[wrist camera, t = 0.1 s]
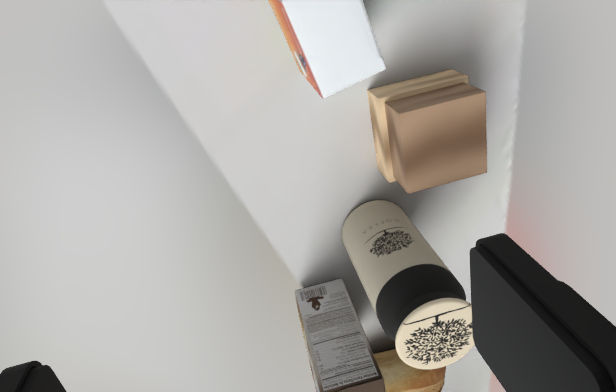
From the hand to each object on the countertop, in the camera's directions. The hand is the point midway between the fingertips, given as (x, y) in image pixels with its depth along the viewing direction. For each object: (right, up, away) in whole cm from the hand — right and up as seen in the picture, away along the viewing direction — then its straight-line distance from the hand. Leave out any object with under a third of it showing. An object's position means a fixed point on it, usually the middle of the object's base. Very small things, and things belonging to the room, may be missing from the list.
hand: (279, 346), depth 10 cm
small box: (+1, +20, +32) cm, 38 cm away
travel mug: (+8, 0, +43) cm, 44 cm away
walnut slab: (+12, +10, +35) cm, 38 cm away
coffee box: (+3, -11, +48) cm, 49 cm away
